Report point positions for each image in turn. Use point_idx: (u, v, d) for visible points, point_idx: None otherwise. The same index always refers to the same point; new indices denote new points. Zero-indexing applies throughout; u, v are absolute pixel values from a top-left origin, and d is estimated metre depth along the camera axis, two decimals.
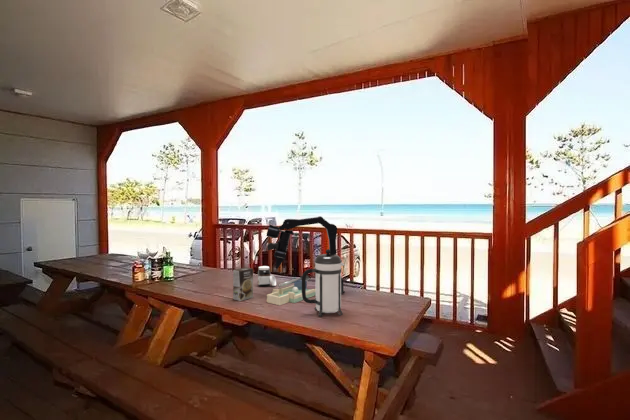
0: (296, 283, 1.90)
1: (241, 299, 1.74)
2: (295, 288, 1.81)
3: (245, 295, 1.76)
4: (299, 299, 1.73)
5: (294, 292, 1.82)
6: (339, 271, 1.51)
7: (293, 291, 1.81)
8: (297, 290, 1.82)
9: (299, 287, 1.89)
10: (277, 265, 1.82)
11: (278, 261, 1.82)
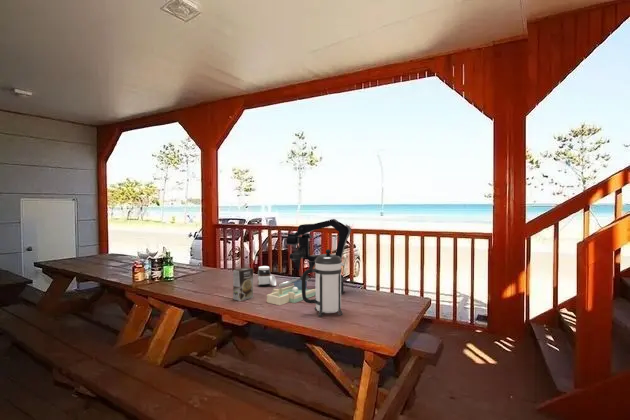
0: (296, 283, 1.90)
1: (241, 299, 1.74)
2: (295, 288, 1.81)
3: (245, 295, 1.76)
4: (299, 299, 1.73)
5: (294, 292, 1.82)
6: (339, 271, 1.51)
7: (293, 291, 1.81)
8: (297, 290, 1.82)
9: (299, 287, 1.89)
10: None
11: (311, 265, 1.92)
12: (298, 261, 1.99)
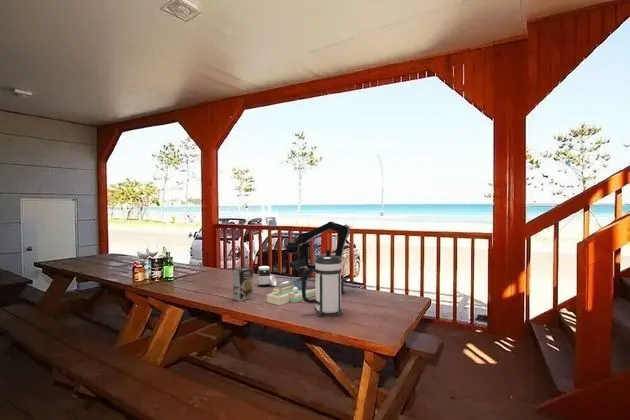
0: (296, 283, 1.90)
1: (241, 299, 1.74)
2: (295, 288, 1.81)
3: (245, 295, 1.76)
4: (299, 299, 1.73)
5: (294, 292, 1.82)
6: (339, 271, 1.51)
7: (293, 291, 1.81)
8: (297, 290, 1.82)
9: (299, 287, 1.89)
10: (307, 277, 1.94)
11: None
12: (302, 271, 1.98)
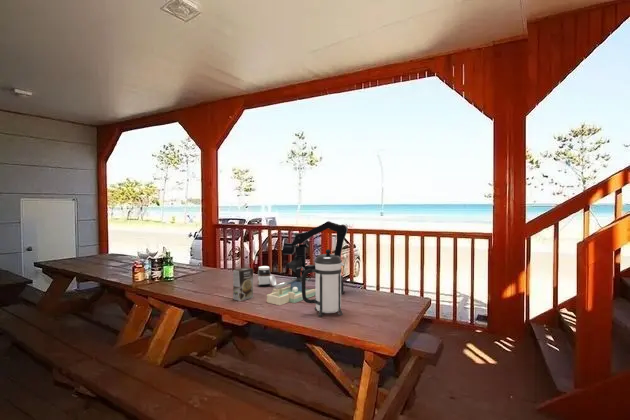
0: (292, 284, 1.87)
1: (241, 299, 1.74)
2: (295, 288, 1.81)
3: (245, 295, 1.76)
4: (299, 299, 1.73)
5: (294, 292, 1.82)
6: (339, 271, 1.51)
7: (293, 291, 1.81)
8: (297, 290, 1.82)
9: None
10: None
11: None
12: (299, 271, 1.95)
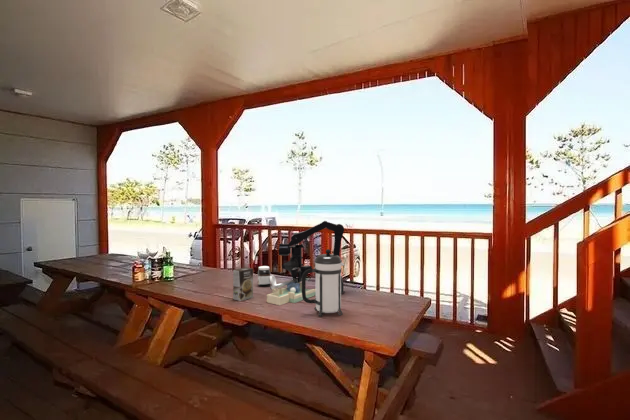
0: (289, 285, 1.85)
1: (241, 299, 1.74)
2: (292, 291, 1.79)
3: (245, 295, 1.76)
4: (299, 299, 1.73)
5: None
6: (339, 271, 1.51)
7: None
8: (295, 290, 1.80)
9: None
10: (300, 279, 1.89)
11: (300, 275, 1.89)
12: (295, 272, 1.93)
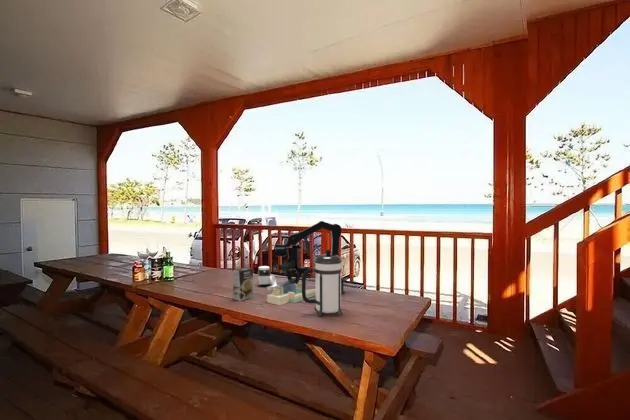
0: (285, 286, 1.82)
1: (241, 299, 1.74)
2: None
3: (245, 295, 1.76)
4: (299, 299, 1.73)
5: None
6: (339, 271, 1.51)
7: None
8: None
9: (288, 291, 1.81)
10: (297, 280, 1.86)
11: (298, 276, 1.86)
12: (290, 273, 1.90)
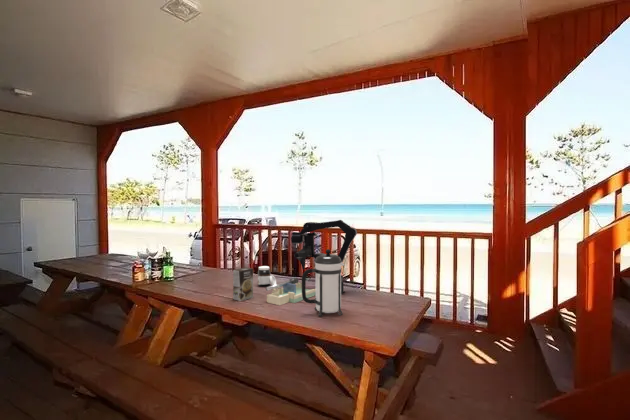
0: (285, 286, 1.82)
1: (241, 299, 1.74)
2: None
3: (245, 295, 1.76)
4: (299, 299, 1.73)
5: None
6: (339, 271, 1.51)
7: None
8: None
9: (288, 291, 1.81)
10: None
11: None
12: (304, 260, 1.96)
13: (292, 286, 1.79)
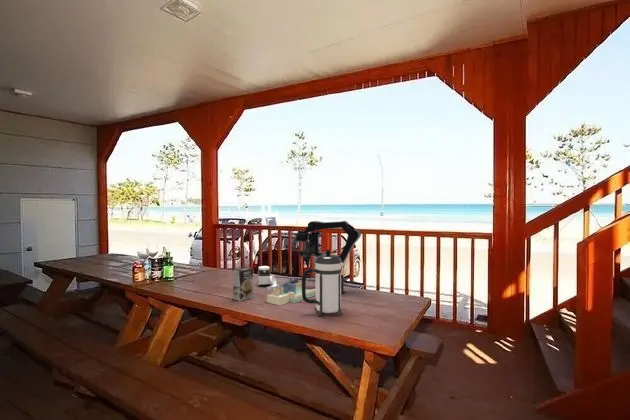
0: (285, 286, 1.82)
1: (241, 299, 1.74)
2: None
3: (245, 295, 1.76)
4: (299, 299, 1.73)
5: None
6: (339, 271, 1.51)
7: None
8: None
9: (288, 291, 1.81)
10: None
11: None
12: (308, 258, 1.98)
13: (292, 286, 1.79)
